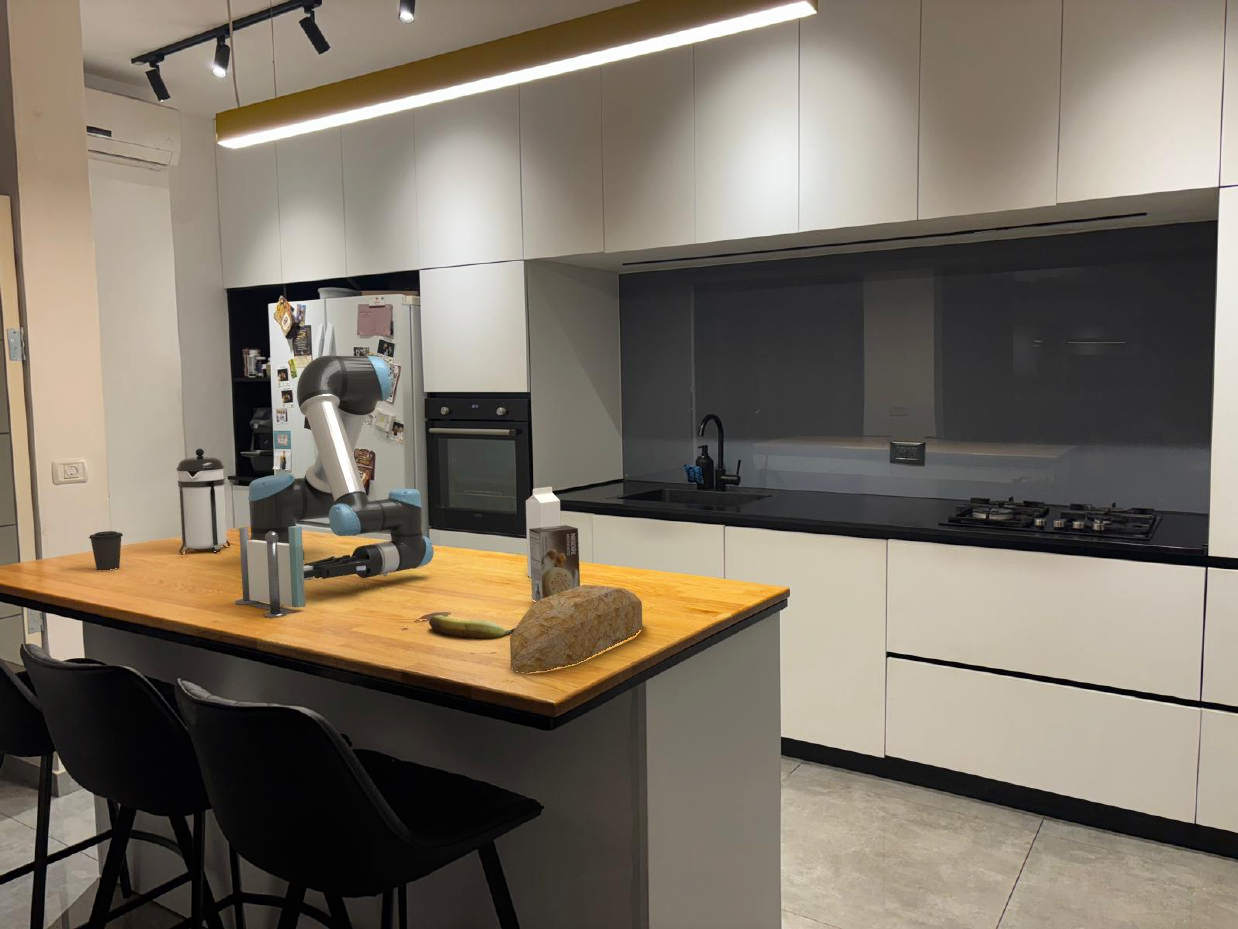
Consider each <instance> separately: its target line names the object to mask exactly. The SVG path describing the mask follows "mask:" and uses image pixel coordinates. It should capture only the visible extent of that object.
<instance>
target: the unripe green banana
mask: <svg viewBox="0 0 1238 929" xmlns="http://www.w3.org/2000/svg"><path fill="white" fill-rule="evenodd" d="M450 615H452V612H449V611H448V612H447V611H441V612H440V611H439V612H437V611H436V612H431V613H427V614H424V615H422V616H420V617H419V618H418V619H427V620H422V621H420V620H418V619H416V620H414V621H413V623H426V622H428V624H429V626H430V628H431V629H432V632H433V633H435V634H436V633H437V634H438V635H439V636H440V635H441V636H445V637H453V638H460V639H475V640H476V639H477V640H489V639H498V638H502V637H505V636H511V635H510V634H512V633H513V631H514V630H515V628H516V627H513V628H511V629H505V628H503V626H501V625H499V624H497V623H494V622H492V621H487V620H481V619H480V620H479V619H477V620H476V619H459V618H455V617H449V616H450ZM408 629H409V627H408V628H403V629H402V631H407V630H408ZM471 653H472V654H471V655H474V653H473V652H471ZM491 654H496V652H491Z"/></svg>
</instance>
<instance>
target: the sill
mask: <svg viewBox="0 0 1238 929" xmlns="http://www.w3.org/2000/svg"><path fill="white" fill-rule="evenodd" d="M234 604H235V605H237V606H252V607H254V606H256V607H255V608H258V607H259V609H262V610H266V609H267V610H266V611H269V610H270V603H267V602H261V601H255V600H247V601H244V600H243V598H240V599H236V600H235V602H234ZM280 611H286V612H287V614H286V615H288V614H293V613H295V610H293V609H289V608H285V607H282V606H280Z"/></svg>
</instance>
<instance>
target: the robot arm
mask: <svg viewBox="0 0 1238 929" xmlns="http://www.w3.org/2000/svg"><path fill="white" fill-rule="evenodd" d="M391 393H392V378H391V373H390V370H389V367H388V365H387V363H386V361H385V360H383V359H382V358H381V357H380V356H373V355H371V356H370V355H368V354H367V355H364V356H363V355H360V356H359V355H322V356H319V357H317V358H315V359H313V360H311V361H310V362H309V363H308V364H307V365H306V366H305V367H304V368H303V370H302V372H301V374H300V375H299V378H298V382H297V386H296V401H297V404H298V408H299V411H300V413H301V414H302V415H303V416H305V417H306V418H307V421H308V424H309V426H310V430H311V433H312V436H313V439H314V443H315V446H316V448H317V451H318V452H317V456H316V459H315V463H314V464H312V465H311V466H309V467H308V468H307V470H306V472H305V475H304V477H299V478H298V477H297V478H295V477H294V475H293V474H291V473H282V474H280V473H279V474H274V475H267V476H264V477H259V478H257V479H255V480H252V481H251V482H250V484H249V485H248V497H247V498H248V499H247V500H248V506H249V519H250V520H249V524H250V525H249V526H250V537H249V541H250V540H260V541H266V540H265V535H266V534H267V533H268V532H271V531H273V532H276V533H277V534H278V541H277V542H278V543H286V544H289V531H288V527H292V526H297V521H306V520H307V521H308V520H317V519H327V518H328V520H329V522H328V524H329V526H330V530H331V531H332V533H333V534H334V535H336V536H338V537H351V536H352V537H356V536H359V535H364V534H372V533H373V534H374V533H380V532H381V533H382V532H388V531H389V532H390V539H391V540H389V541H383V542H382V541H381V542H375V543H372V544H370V543H369V544H367V545H360V546H357V547H355V549H354V551H353V553H352V555H351V554H346V555H345V554H344V555H342V556H339V557H335V556H330V557H327V558H324V559H320V560H315V561H312V562H306V563H303V566H304V581H306V580H307V581H309V580H310V581H311V580H313V579H314V578H315V579H320V578H321V579H324V580H326V579H330V578H337V577H338V578H340V577H345V576H352V575H357V576H358V577H359V578H361V579H368V578H373V577H376V576H381V575H383V577H387V576H388V574H391V573H397V572H402V571H405V570H406V571H407V570H412V569H413V570H414V569H415V570H416V569H417V568H421V567H424V566H426V565H428V564H430V563H431V561H432V560H433V557H434V552H435V551H434V546H432V541H431V540H430V538H429V537H427V536H425V535H423V529H422V528H423V524H422V523H423V522H422V518H423V517H422V516H423V515H422V514H423V513H422V512H423V511H422V510H423V506H422V497H421V493H420V491H419V490H418V489H414V488H400V489H399V488H398V489H392V490H390V491H389V493H388V498H386V499H378V500H377V499H375V500H369V498H368V494H367V492H366V489H365V486H364V484H363V483H364V482H363V480H362V477H361V474H360V471H359V467H358V465H357V461H356V459H355V457H354V451H355V447H356V446H357V442H358V440H359V437H360V434H361V431H362V430H363V429H362V428H363V425H364V423H365V420H366V417H367V416H369V415H371V414H372V413H373V412H374V411H375V409H376V407H377V405H378V402H384V401H387V400H388V399H389V398H390V396H391ZM304 560H305V551H304V549H303V561H304Z"/></svg>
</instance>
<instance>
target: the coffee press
mask: <svg viewBox="0 0 1238 929" xmlns="http://www.w3.org/2000/svg"><path fill="white" fill-rule="evenodd" d="M204 453H205V451H204V450H203V448H198V449H196V450H195V455H196V457H189V458H184V459H182V460H181V461H180V462H178V465H177V467H176V468H175V469H176V472H177V477H178V480H177V487H178V493H179V496H178V497H179V510H180V526H181V542H182V545H181V547H180V548H179V550H178V553H179V554H180V553H183V550H184V548H185V550H184V551H185V552H187V553H188V551H190V550H203V549H209V550H210V549H211V550H212V552H213V551H216V552H221V549H220V547H221V546H222V547H224V548H226V546H230V547H231V543H230V542H229V540H227V539H228V538H227V536H228V534H227V520H226V519H227V516H226V514H227V513H226V500H225V499H226V498H225V484H226V483H225V482H226V481H225V477H224V470H225V465H224V464H223V461H222V460H220V459H219V458H217V457H211V456H210V457H209V456H204ZM226 544H227V545H226Z"/></svg>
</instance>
